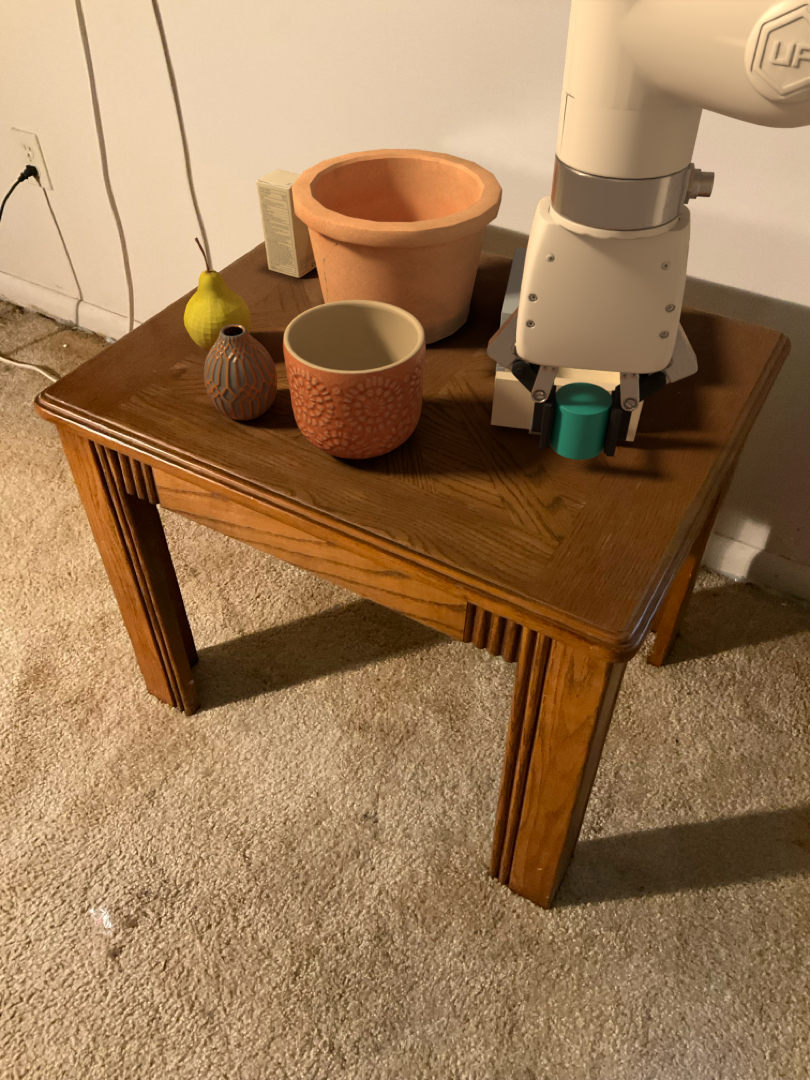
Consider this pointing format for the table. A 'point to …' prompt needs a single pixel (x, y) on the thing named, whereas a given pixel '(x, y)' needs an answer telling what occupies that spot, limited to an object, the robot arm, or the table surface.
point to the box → (284, 226)
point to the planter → (355, 376)
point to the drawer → (518, 405)
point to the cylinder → (580, 420)
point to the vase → (240, 374)
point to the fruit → (213, 308)
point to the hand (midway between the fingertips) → (577, 439)
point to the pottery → (399, 230)
